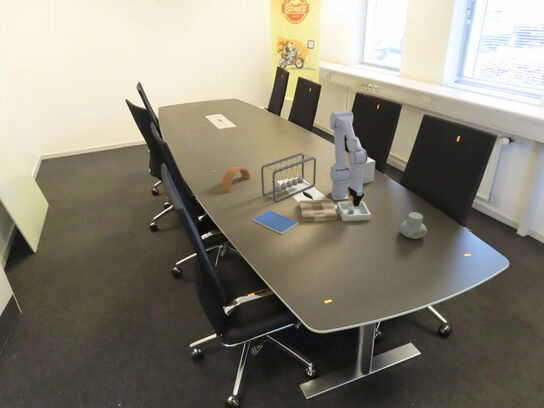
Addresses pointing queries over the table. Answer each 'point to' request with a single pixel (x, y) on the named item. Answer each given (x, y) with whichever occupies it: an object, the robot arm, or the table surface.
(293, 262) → the table surface
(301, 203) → the pin plate
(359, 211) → the tray
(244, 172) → the arch
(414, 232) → the air freshener
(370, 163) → the supplement box
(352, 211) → the pin
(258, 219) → the tablet computer
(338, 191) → the robot arm
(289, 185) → the newton's cradle
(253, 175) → the table surface
